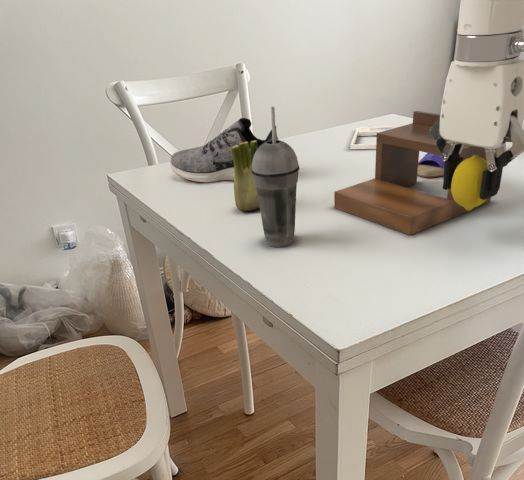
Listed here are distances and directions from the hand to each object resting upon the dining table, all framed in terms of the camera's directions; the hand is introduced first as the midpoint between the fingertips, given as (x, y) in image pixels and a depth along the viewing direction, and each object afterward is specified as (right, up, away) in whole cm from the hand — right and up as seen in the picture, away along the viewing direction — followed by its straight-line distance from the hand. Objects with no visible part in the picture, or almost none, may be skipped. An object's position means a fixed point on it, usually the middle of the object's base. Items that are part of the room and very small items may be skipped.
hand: (469, 190), depth 77 cm
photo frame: (0, +30, +57) cm, 64 cm away
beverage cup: (-27, -5, +10) cm, 29 cm away
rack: (-3, +3, +18) cm, 19 cm away
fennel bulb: (-32, +3, +23) cm, 40 cm away
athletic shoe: (-37, +15, +41) cm, 57 cm away
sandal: (+9, +16, +36) cm, 41 cm away
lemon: (+1, -2, +2) cm, 3 cm away
